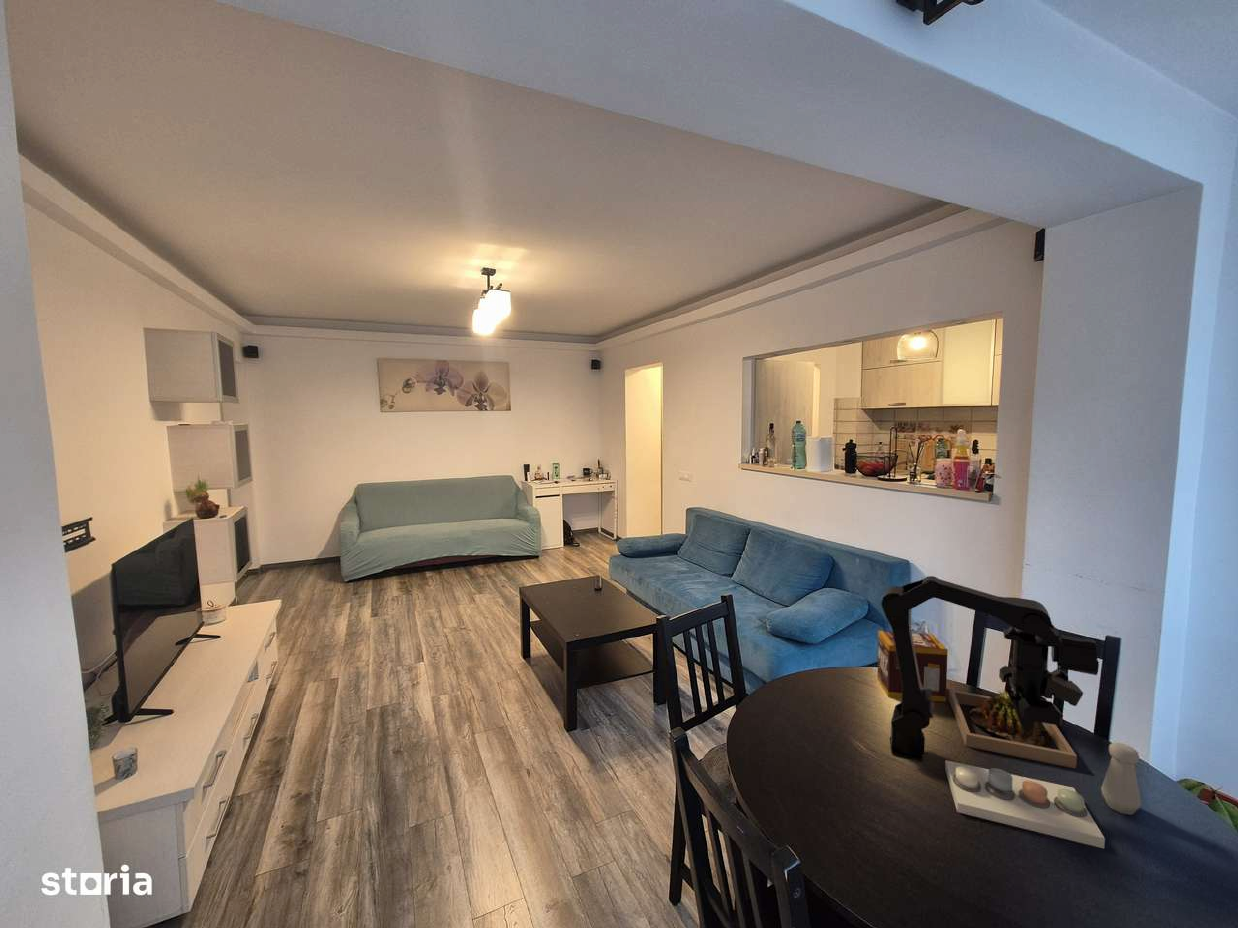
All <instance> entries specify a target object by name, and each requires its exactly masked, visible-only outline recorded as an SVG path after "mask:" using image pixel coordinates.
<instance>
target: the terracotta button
mask: <svg viewBox="0 0 1238 928" xmlns="http://www.w3.org/2000/svg"><path fill="white" fill-rule="evenodd" d="M1047 794H1048V791H1047V790H1046V788H1044V787H1043V786H1042V785H1040V784H1038V783H1035V782H1032V781H1024V782H1023V783H1022V795H1023V796H1024V797H1025V798H1026V799H1028V800H1029V801H1031V802H1033V803H1036V804H1046V803H1047Z"/></svg>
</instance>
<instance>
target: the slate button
mask: <svg viewBox="0 0 1238 928" xmlns="http://www.w3.org/2000/svg"><path fill="white" fill-rule="evenodd" d="M1010 774H1011V773H1009V772H1007V771H1005V770H1004V769H1002V768H1001V769H1000V768H996V767H993V768H992V767H991V768H989V773H988V781H989V783H990V784H991V785H992V786H994V787H996V788H998V789H1000V790H1005V791H1009V790H1011V789H1012V780H1013V778H1012V776H1011V775H1010Z"/></svg>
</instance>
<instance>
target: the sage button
mask: <svg viewBox="0 0 1238 928" xmlns="http://www.w3.org/2000/svg"><path fill="white" fill-rule="evenodd" d="M1076 792H1077V791H1076ZM1076 792H1074V791H1072V790H1069V789H1059V790H1058V797H1057V802H1058V803H1059V804H1060V805H1061V806H1062V807H1063V808H1065V809H1067V810H1069V811H1072V812H1075V813H1082V812H1084V805H1085V802H1086V801H1085V798H1084V797H1083V796H1082V795H1081V794H1080V793H1078V792H1077V793H1076Z"/></svg>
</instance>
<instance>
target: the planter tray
mask: <svg viewBox="0 0 1238 928" xmlns="http://www.w3.org/2000/svg"><path fill="white" fill-rule="evenodd" d="M948 697H949V698H948V702H949V703H950V706H951V709H952V712H953V714H954V716H955V720H956V723H957V725H958V728H959V731H960V733H961V737H962V739H963V742H964V745H965V747H968V748H973V749H979V750H983V751H988V752H993V753H998V754H1003V755H1007V756H1012V757H1016V758H1017V757H1018V758H1021V759H1027V760H1031V761H1032V760H1033V761H1037V762H1040V763H1046V764H1052V765H1057V766H1061V767H1067V768H1070V769H1075V768H1076V769H1077V762H1078V761H1077V759H1078V758H1077V757H1078V756H1077V754H1076V752H1075V751H1074V749H1073V748H1072V746H1070V744H1069V743H1068V740H1066V738H1065V736H1064V735H1063V734H1062V732H1061V731H1060V728H1058V725H1054V724H1048V723H1042V722H1041V723H1042V726H1043V727H1044V728H1045V729H1046V730H1047V731H1048V732H1049V734H1050V735H1051V736H1052V742H1054V744H1055V746H1056V747H1057V749H1054V748H1053V749H1052V748H1050V747H1045V748H1044V747H1039V746H1034V745H1029V744H1024V743H1019V742H1013V741H1011V740H1007V739H1003V738H998V737H992V736H989V735H988V736H986V735H982V734H977V733H973V732H971V731H970V729H969V726H968V724H967V720H966V718H965V715H964V713H963V711H962V708H961V705H966V706H973V707H976V708H980V707H982V706H983V705H982V704H981V703H984V702H985V700H988V698H989V697H990V698H991V696H987V695H981V694H975V693H972V692H965V691H959V690H952V689H949V696H948ZM960 704H961V705H960Z"/></svg>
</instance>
